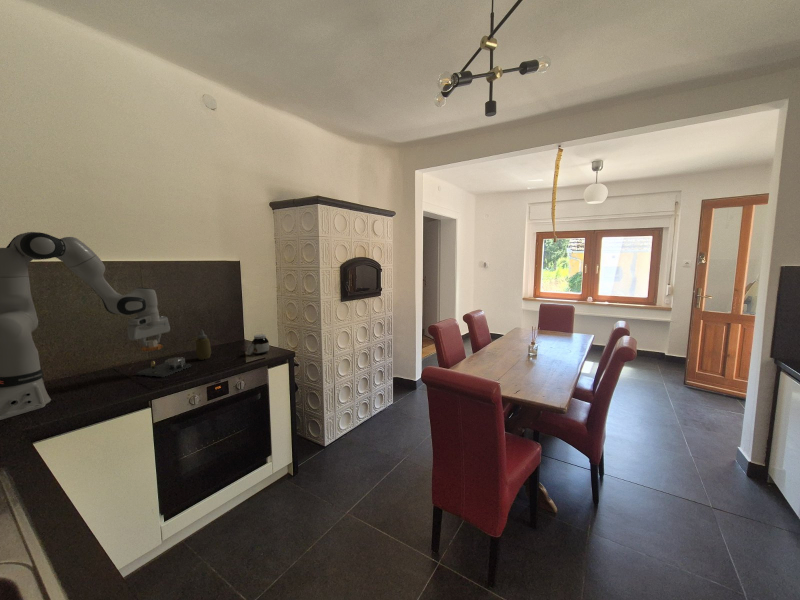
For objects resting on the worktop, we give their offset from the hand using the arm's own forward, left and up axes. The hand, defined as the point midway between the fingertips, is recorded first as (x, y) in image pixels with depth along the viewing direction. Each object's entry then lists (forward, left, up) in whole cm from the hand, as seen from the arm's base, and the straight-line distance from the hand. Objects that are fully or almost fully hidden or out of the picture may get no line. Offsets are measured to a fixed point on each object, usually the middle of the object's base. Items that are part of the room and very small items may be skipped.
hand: (151, 344), depth 170 cm
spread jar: (+42, -31, -16) cm, 55 cm away
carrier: (+3, -3, -15) cm, 16 cm away
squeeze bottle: (+26, -6, -16) cm, 31 cm away
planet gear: (0, 0, -3) cm, 3 cm away
